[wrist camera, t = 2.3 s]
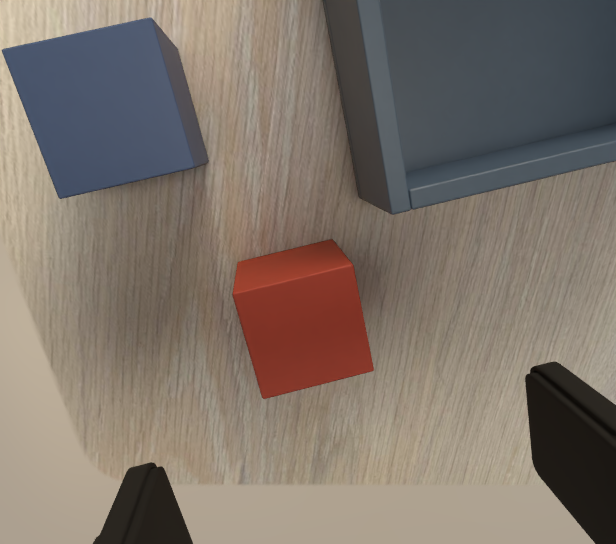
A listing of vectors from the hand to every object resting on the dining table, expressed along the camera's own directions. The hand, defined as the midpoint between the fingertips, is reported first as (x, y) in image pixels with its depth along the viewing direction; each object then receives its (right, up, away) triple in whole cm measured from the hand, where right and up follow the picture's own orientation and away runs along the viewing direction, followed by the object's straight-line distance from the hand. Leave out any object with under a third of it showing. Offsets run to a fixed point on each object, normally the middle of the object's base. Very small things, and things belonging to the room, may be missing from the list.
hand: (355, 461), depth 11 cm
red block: (-2, +4, +12) cm, 13 cm away
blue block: (-9, +12, +9) cm, 17 cm away
